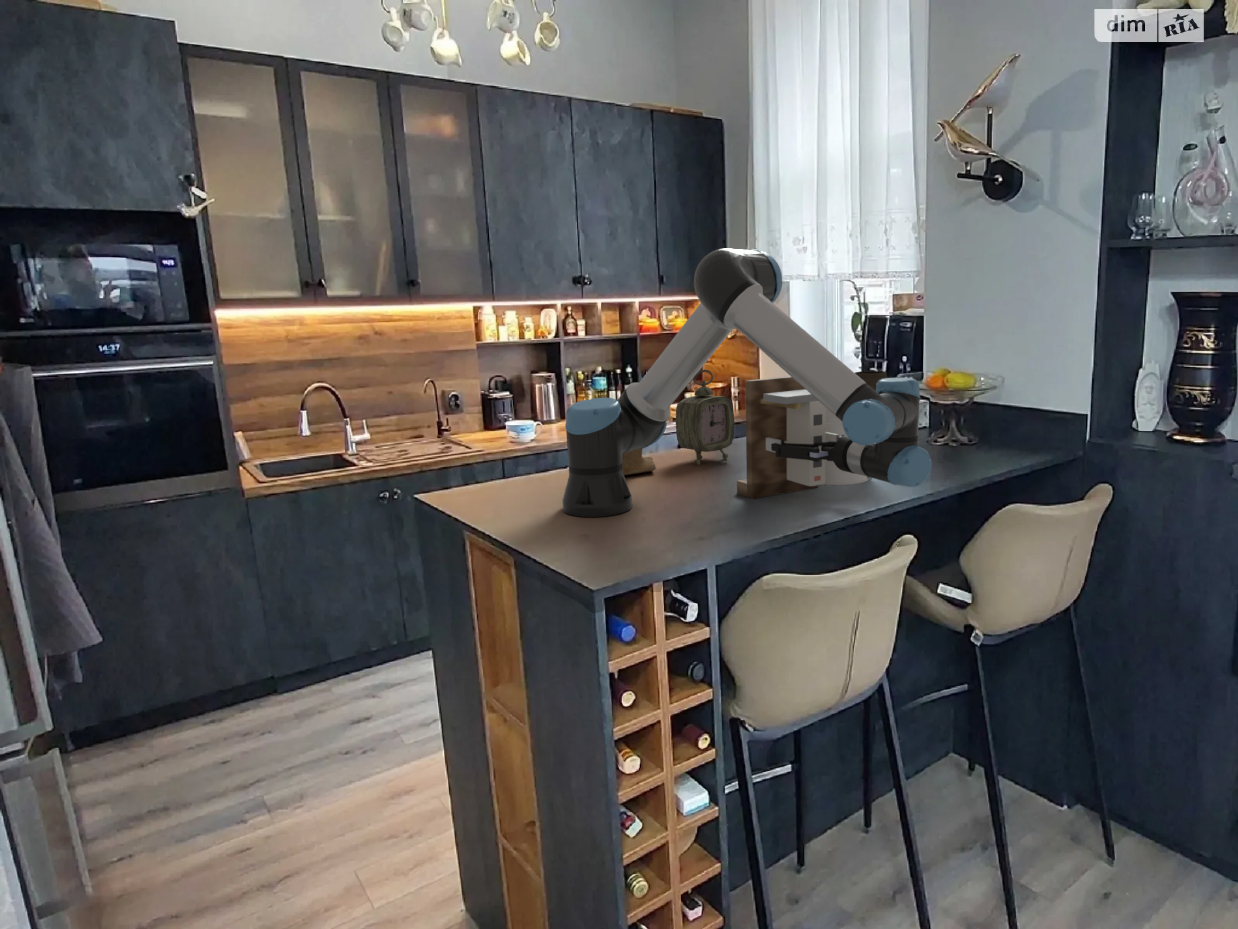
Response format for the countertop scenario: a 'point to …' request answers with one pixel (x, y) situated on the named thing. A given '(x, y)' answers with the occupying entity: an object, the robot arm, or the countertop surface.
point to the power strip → (803, 433)
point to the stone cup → (636, 463)
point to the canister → (831, 471)
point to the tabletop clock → (705, 421)
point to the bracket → (760, 424)
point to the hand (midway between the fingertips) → (792, 440)
